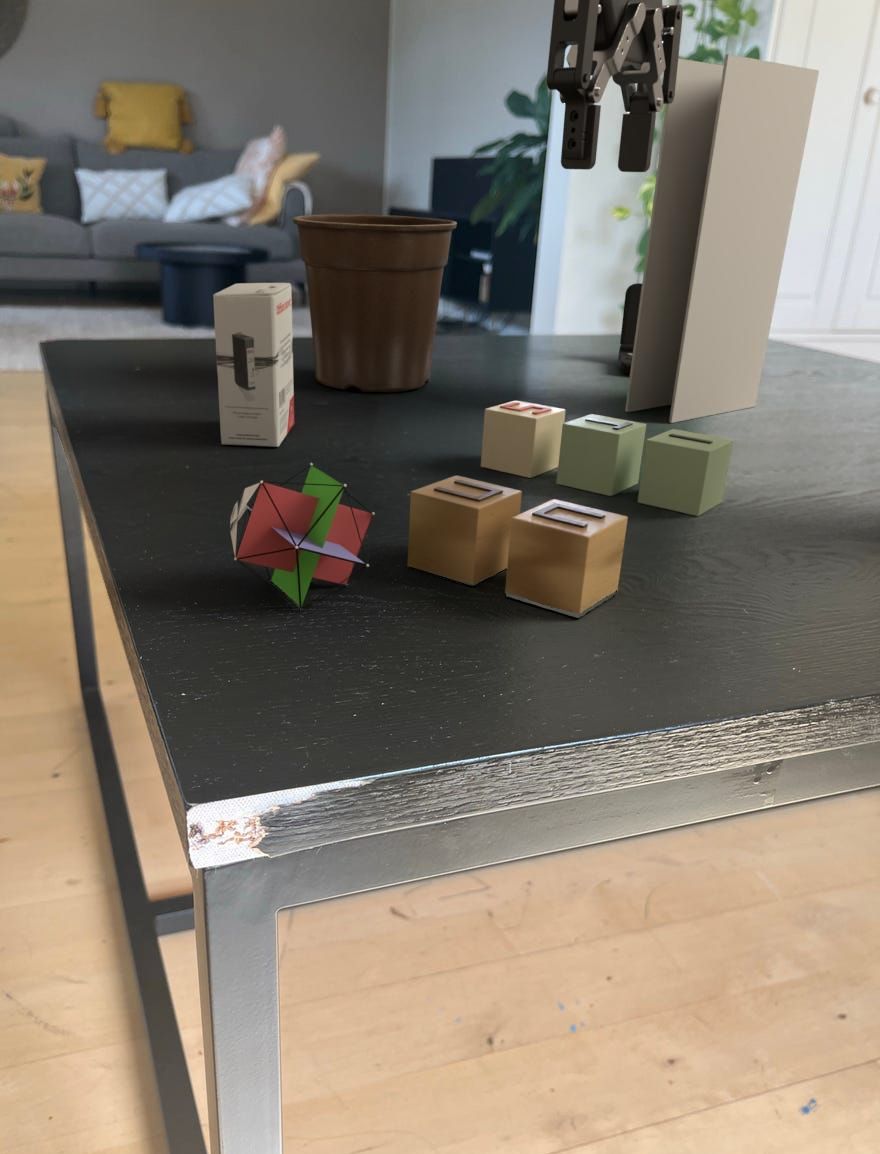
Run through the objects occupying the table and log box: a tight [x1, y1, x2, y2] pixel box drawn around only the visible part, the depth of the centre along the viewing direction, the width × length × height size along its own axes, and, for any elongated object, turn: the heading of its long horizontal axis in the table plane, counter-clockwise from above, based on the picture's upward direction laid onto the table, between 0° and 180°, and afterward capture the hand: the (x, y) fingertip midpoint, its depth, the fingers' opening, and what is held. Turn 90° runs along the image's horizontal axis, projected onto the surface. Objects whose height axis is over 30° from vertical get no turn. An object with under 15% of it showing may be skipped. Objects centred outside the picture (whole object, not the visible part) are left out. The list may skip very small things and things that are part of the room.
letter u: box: [504, 498, 629, 613], centre depth 52 cm, size 4×4×5 cm
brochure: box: [624, 53, 820, 424], centre depth 92 cm, size 14×6×30 cm, turn 130°
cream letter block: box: [480, 399, 566, 479], centre depth 76 cm, size 4×4×5 cm
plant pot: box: [292, 214, 458, 394], centre depth 102 cm, size 16×16×16 cm
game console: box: [617, 282, 642, 375], centre depth 117 cm, size 16×14×9 cm
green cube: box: [555, 413, 647, 497], centre depth 72 cm, size 4×4×5 cm
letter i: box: [637, 428, 734, 517], centre depth 69 cm, size 4×4×5 cm
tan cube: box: [407, 475, 523, 584], centre depth 56 cm, size 4×4×5 cm
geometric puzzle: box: [229, 462, 376, 609], centre depth 51 cm, size 7×7×8 cm
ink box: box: [212, 282, 295, 448], centre depth 80 cm, size 8×5×12 cm, turn 177°
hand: (606, 170), depth 68 cm, fingers open, 8 cm apart
